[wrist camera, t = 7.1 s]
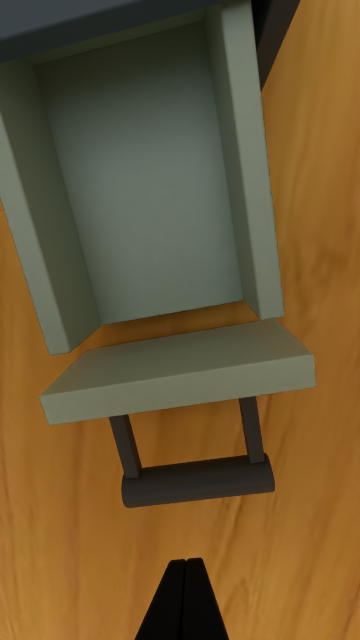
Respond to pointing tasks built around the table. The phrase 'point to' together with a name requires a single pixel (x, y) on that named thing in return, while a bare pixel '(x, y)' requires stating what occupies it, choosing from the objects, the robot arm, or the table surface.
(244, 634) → the table surface
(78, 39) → the cabinet
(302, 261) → the table surface
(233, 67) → the drawer
